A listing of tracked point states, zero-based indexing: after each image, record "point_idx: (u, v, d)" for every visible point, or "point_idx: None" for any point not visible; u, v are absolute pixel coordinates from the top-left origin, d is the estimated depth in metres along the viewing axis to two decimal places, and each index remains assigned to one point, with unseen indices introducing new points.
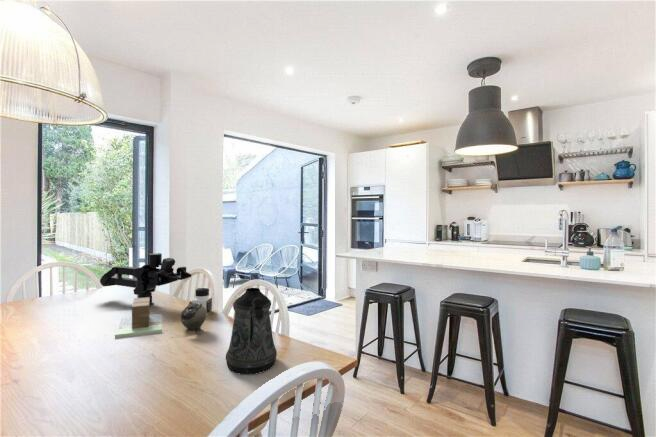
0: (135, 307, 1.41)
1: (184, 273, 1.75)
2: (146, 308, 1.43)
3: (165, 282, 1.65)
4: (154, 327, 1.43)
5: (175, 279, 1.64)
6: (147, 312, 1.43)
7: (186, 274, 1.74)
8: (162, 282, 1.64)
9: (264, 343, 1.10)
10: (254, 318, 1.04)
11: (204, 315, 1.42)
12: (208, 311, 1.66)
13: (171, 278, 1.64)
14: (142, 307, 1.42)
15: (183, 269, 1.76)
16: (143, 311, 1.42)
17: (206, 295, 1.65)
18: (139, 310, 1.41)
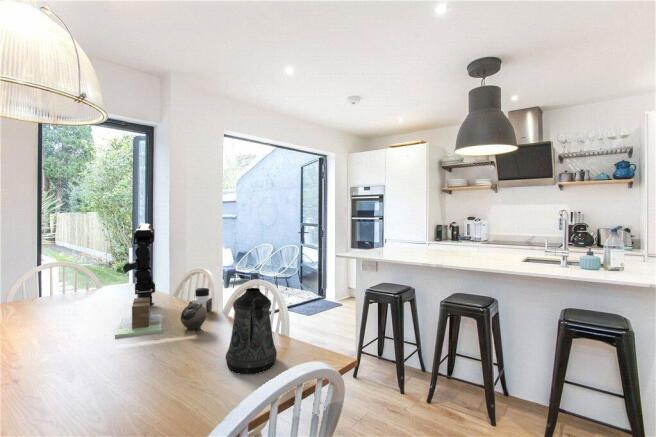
0: (135, 307, 1.41)
1: None
2: (146, 308, 1.43)
3: None
4: (154, 327, 1.43)
5: None
6: (147, 312, 1.43)
7: None
8: None
9: (264, 343, 1.10)
10: (254, 318, 1.04)
11: (204, 315, 1.42)
12: (208, 311, 1.66)
13: None
14: (142, 307, 1.42)
15: None
16: (143, 311, 1.42)
17: (206, 295, 1.65)
18: (139, 310, 1.41)
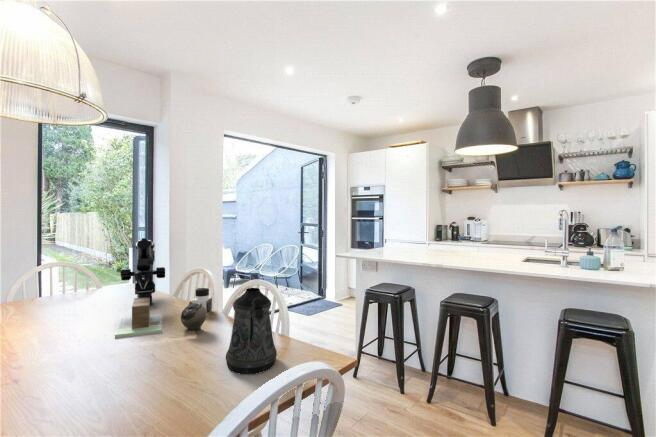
0: (135, 307, 1.41)
1: (144, 280, 1.63)
2: (146, 308, 1.43)
3: (138, 281, 1.65)
4: (154, 327, 1.43)
5: (141, 287, 1.61)
6: (147, 312, 1.43)
7: (143, 283, 1.63)
8: (136, 279, 1.65)
9: (264, 343, 1.10)
10: (254, 318, 1.04)
11: (204, 315, 1.42)
12: (208, 311, 1.66)
13: (140, 283, 1.62)
14: (142, 307, 1.42)
15: (147, 274, 1.64)
16: (143, 311, 1.42)
17: (206, 295, 1.65)
18: (139, 310, 1.41)
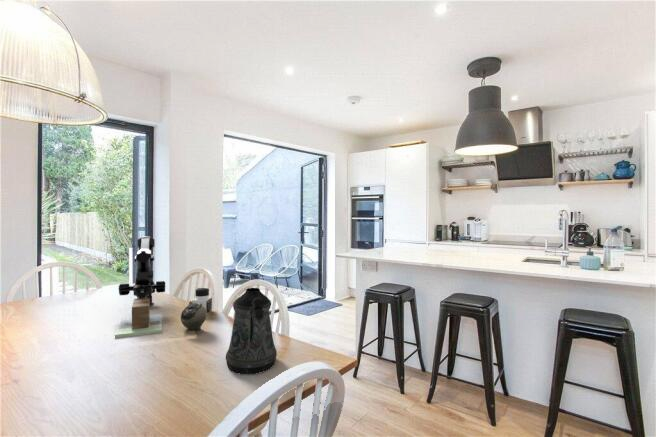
0: (135, 308, 1.40)
1: (143, 294, 1.56)
2: (146, 309, 1.42)
3: (137, 295, 1.58)
4: (154, 327, 1.43)
5: None
6: (147, 313, 1.42)
7: (142, 297, 1.56)
8: (135, 294, 1.58)
9: (264, 343, 1.10)
10: (254, 318, 1.04)
11: (204, 315, 1.42)
12: (208, 311, 1.66)
13: None
14: (142, 308, 1.41)
15: (146, 289, 1.57)
16: (143, 312, 1.41)
17: (206, 295, 1.65)
18: (139, 311, 1.41)
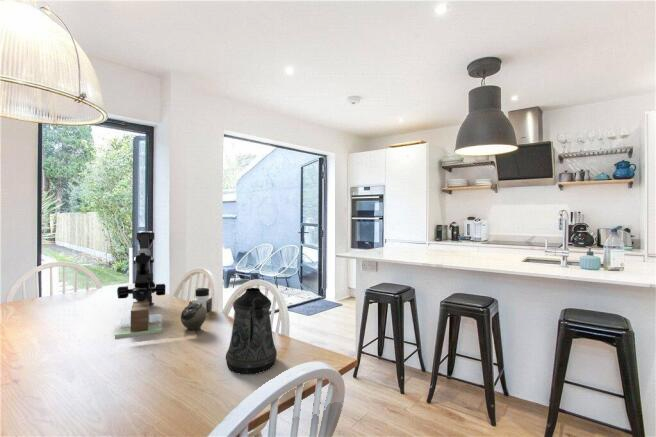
0: (134, 311, 1.35)
1: (142, 298, 1.51)
2: (145, 312, 1.37)
3: (136, 299, 1.53)
4: (154, 327, 1.43)
5: None
6: (146, 316, 1.37)
7: None
8: (134, 297, 1.53)
9: (264, 343, 1.10)
10: (254, 318, 1.04)
11: (204, 315, 1.42)
12: (208, 311, 1.66)
13: None
14: (141, 312, 1.36)
15: (145, 292, 1.52)
16: (142, 315, 1.36)
17: (206, 295, 1.65)
18: (138, 314, 1.36)
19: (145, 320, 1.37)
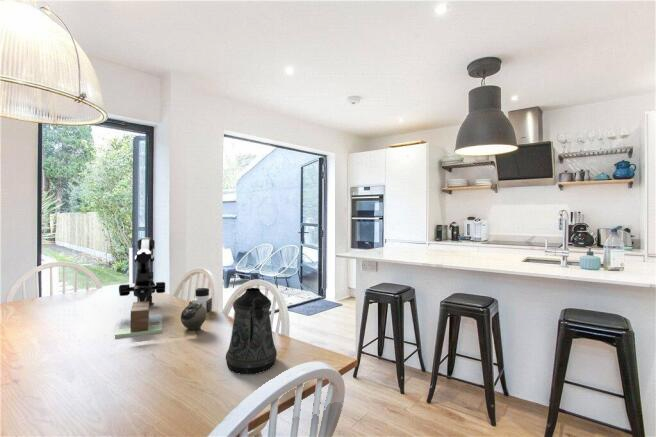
0: (134, 312, 1.35)
1: None
2: (145, 313, 1.36)
3: (137, 296, 1.59)
4: (154, 327, 1.43)
5: None
6: (146, 317, 1.37)
7: (142, 298, 1.57)
8: (135, 295, 1.59)
9: (264, 343, 1.10)
10: (254, 318, 1.04)
11: (204, 315, 1.42)
12: (208, 311, 1.66)
13: (139, 299, 1.56)
14: (141, 312, 1.36)
15: (146, 290, 1.58)
16: (142, 316, 1.36)
17: (206, 295, 1.65)
18: (138, 315, 1.35)
19: (145, 320, 1.37)
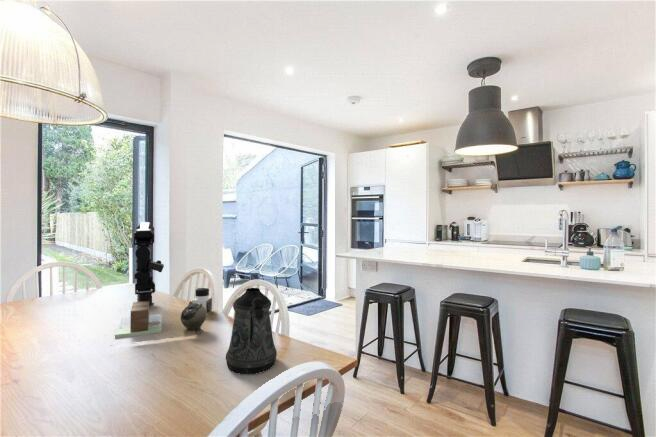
0: (134, 312, 1.35)
1: None
2: (145, 313, 1.36)
3: (138, 279, 1.57)
4: (154, 327, 1.43)
5: (143, 288, 1.59)
6: (146, 317, 1.37)
7: None
8: None
9: (264, 343, 1.10)
10: (254, 318, 1.04)
11: (204, 315, 1.42)
12: (208, 311, 1.66)
13: (143, 285, 1.59)
14: (141, 312, 1.36)
15: None
16: (142, 316, 1.36)
17: (206, 295, 1.65)
18: (138, 315, 1.35)
19: (145, 320, 1.37)
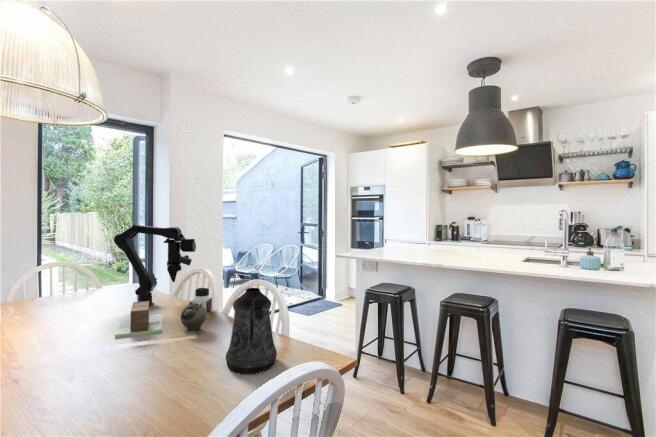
0: (134, 312, 1.35)
1: None
2: (145, 313, 1.36)
3: (170, 272, 1.76)
4: (154, 327, 1.43)
5: (173, 280, 1.78)
6: (146, 317, 1.37)
7: None
8: (170, 270, 1.75)
9: (264, 343, 1.10)
10: (254, 318, 1.04)
11: (204, 315, 1.42)
12: (208, 311, 1.66)
13: (174, 277, 1.78)
14: (141, 312, 1.36)
15: None
16: (142, 316, 1.36)
17: (206, 295, 1.65)
18: (138, 315, 1.35)
19: (145, 320, 1.37)
